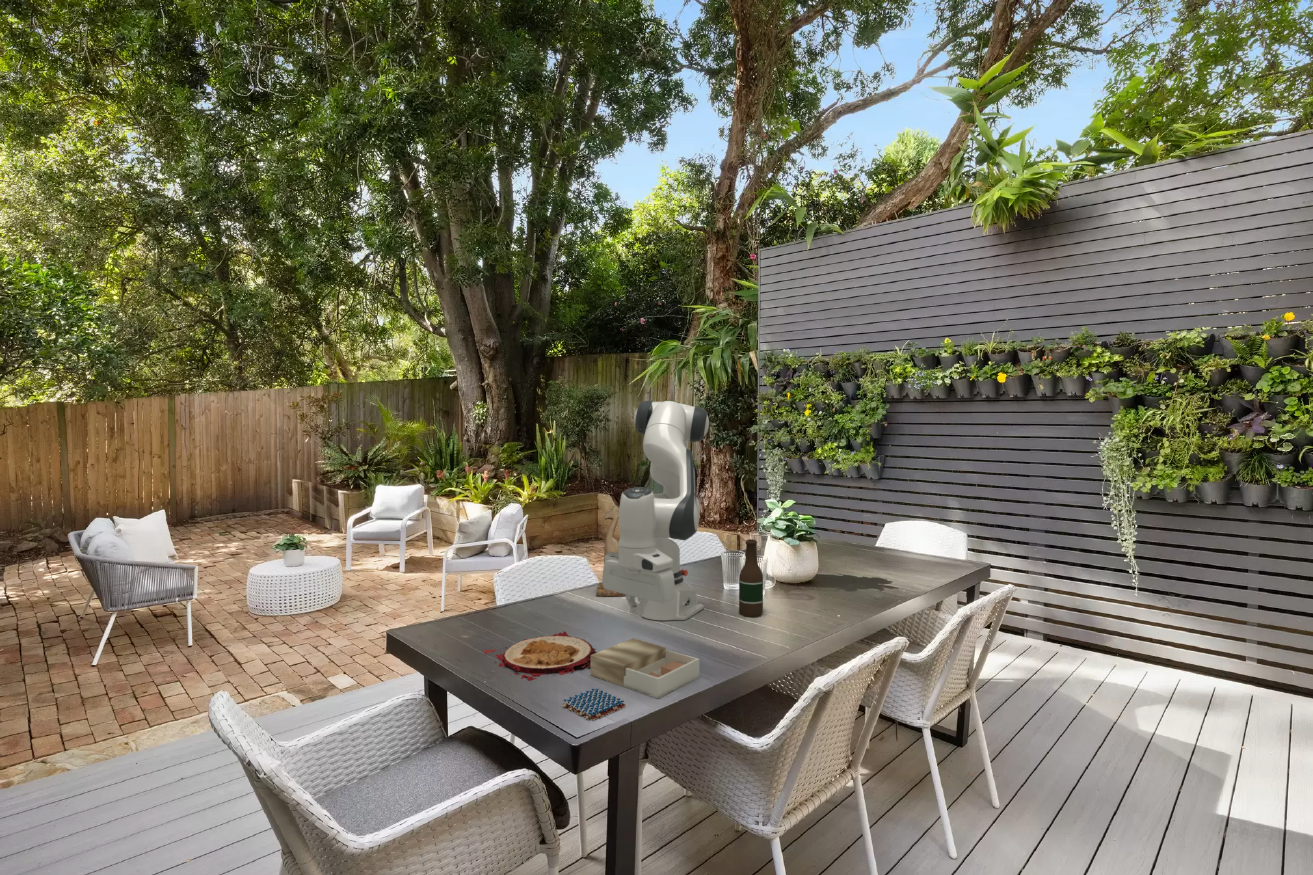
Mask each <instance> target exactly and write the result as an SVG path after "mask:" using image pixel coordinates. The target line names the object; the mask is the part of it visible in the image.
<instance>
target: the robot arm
mask: <svg viewBox="0 0 1313 875" xmlns="http://www.w3.org/2000/svg"><path fill="white" fill-rule="evenodd" d="M633 420H634V421H633V423H634V428H635V430H636V431H637V433H638V434H640V435H643V442H642V445H643V446H642V450H643V453H644V455H645V457H646V458H647V459H648V461H650V466H649V473H650V477H651V479H652V480H653V481H654V482H656V483H657V484H659V485H660V486H663V490H662V492H660V493H654V492H653V490H652V489H650V488H648V487H644V486H643V487H641V486H636V487H635V486H634V487H630V488H629V487H628V488H627V489H625V490H623V491H622V493H621V495H620V502H619V519H618V530H619V534H620V535H619V540H618V543H619V553H615V552H609V553H608V554H606V556H605V564H604V563H603V569H602V576H601V577H602V579H601V583H602V585H603V587H604V589H606V590H610V591H614V592H618V593H622V594H626V596H625V599H626V602H627V604H628V606H629V614H631V615H635V616H639V617H643V618H645V619H648V620H652V621H685V620H688V619H690V618H691V617H693V616H694V615H696V614H697V613H699V612H701V611H702V610H704V608H705V606H704V604H702V603H700V602H697V593H696V590H695V588H692V587H691V586H690V585H689V584H688V583H686V581H685V580H684V577H687V576H688V575H689V570H688V569H684V568H683V569H681V567H680V566H681V564H680V563H681V558H680V557H681V556H680V555H681V553H680V552H681V550H680V547H679V545H678V543H677V542H675V541H674V540H677V541H678V540H679V541H687V540H689V539H690V538H692V537H693V536H694V535H695V534H696V533H697V532H698V529H699V524H700V523H699V522H700V519H699V517H700V514H701V503H700V501H699V500H698V498H697V486H696V485H697V484H696V467H695V458H694V455H693V453H692V451H691V449H689V442H690V443H696V442H700V441H702V440H703V439H704V438H705V436H706V435H707V433H708V431H709V428H710V420H709V416H708V412H707V410H706V409H704V408H702V407H700V406H698V405H696V406H692V405H689V404H684V403H680V402H676V401H673V400H665V401H653V400H643V401H642V402H640V403H639V404H638V406H637V408H636V410H635V412H634V416H633ZM672 539H673V540H672ZM683 576H684V577H683ZM636 598H637V602H638V604H637V602H636Z"/></svg>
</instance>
